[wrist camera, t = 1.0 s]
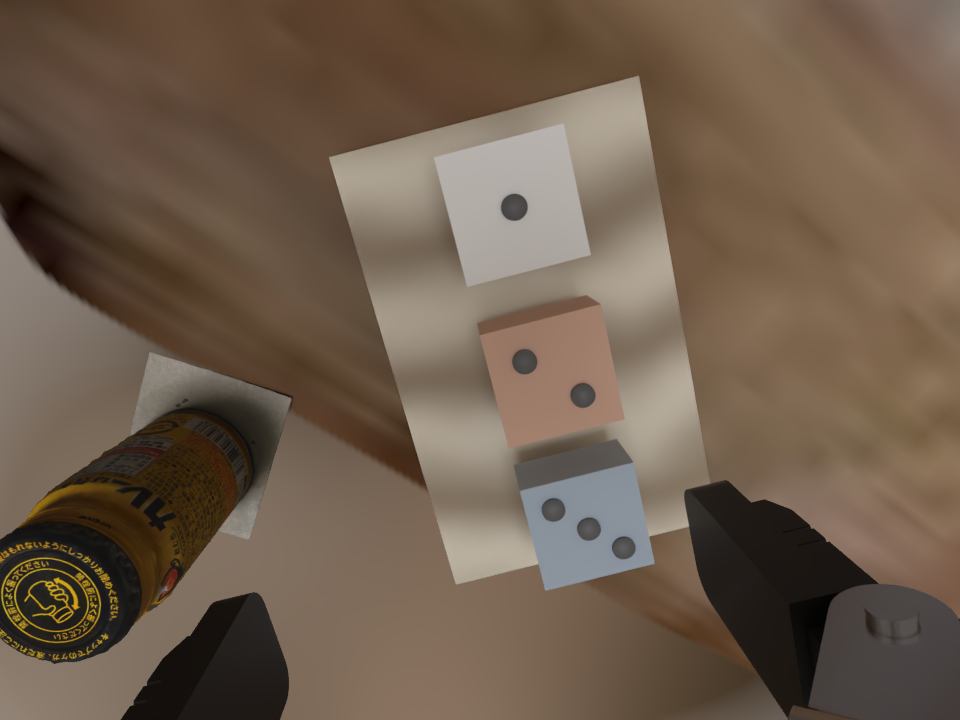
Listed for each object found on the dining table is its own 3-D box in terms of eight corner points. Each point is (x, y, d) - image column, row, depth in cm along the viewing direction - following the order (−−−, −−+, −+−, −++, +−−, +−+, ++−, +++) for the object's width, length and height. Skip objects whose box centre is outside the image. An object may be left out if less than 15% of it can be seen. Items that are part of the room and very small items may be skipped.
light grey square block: (435, 162, 26) (433, 156, 23) (552, 132, 26) (564, 122, 23) (465, 279, 27) (467, 287, 24) (576, 250, 27) (591, 255, 24)
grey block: (513, 464, 29) (520, 493, 26) (616, 438, 29) (635, 464, 26) (537, 556, 30) (546, 593, 27) (636, 532, 30) (655, 566, 27)
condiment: (115, 498, 33) (-73, 657, 21) (151, 351, 31) (-31, 435, 19) (250, 537, 34) (143, 711, 22) (293, 396, 32) (201, 503, 20)
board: (337, 160, 29) (321, 154, 26) (626, 84, 29) (650, 67, 25) (455, 563, 34) (456, 603, 31) (701, 501, 34) (730, 535, 31)
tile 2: (476, 323, 27) (479, 336, 25) (586, 294, 27) (602, 304, 24) (503, 426, 29) (509, 450, 26) (608, 399, 29) (626, 420, 26)
